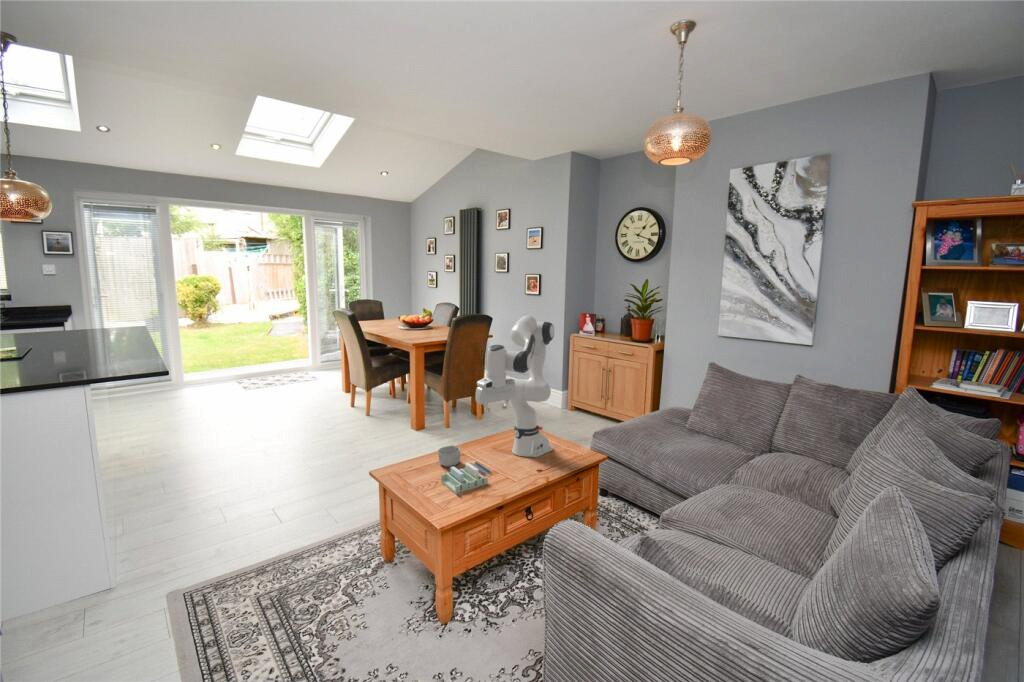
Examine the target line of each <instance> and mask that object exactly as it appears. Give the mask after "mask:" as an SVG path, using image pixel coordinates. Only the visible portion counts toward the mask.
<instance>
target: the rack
mask: <svg viewBox="0 0 1024 682" xmlns="http://www.w3.org/2000/svg"><path fill="white" fill-rule="evenodd" d="M449 468H450V469H449V471H450V472H445V473H443V474H441V475H440V483H441V484H443V485H444V486H445V487H446V488H448V489H449V490H450V491H451V492H452V493H454V494H455V495H459V494H460V493H462V492H464V491H465V492H466V491H468V490H472V489H475V488H478V487H482V486H485V485H488V484H489V477H488V476H485V477H484V476H483V475H481V474H479V479H478V480H476V479H475V478H474V477H472V476H471V475H469V474H468V473H467V472H465V467H464V468H459V469H458V468H457V467H456V466H452V467H449Z"/></svg>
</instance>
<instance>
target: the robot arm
mask: <svg viewBox="0 0 1024 682" xmlns="http://www.w3.org/2000/svg"><path fill="white" fill-rule="evenodd" d="M555 331H556V330H555V326H554V324H553V323H552V322H549V321H537V320H536V318H535V317H534V316H532V315H528V314H527V315H523V316H522V317H520V318H519V319H518V320H517V321H516V323H515V324H514V325H513V326H512V328H511V330H510V339H511V341H512V342H513V343H514V345H516V346H518V347H522V348H523V349H522V350H508V349H506V348H505V346H504V345H502V344H494V345H490V346H489V347H488V348H487V353H486V368H487V369H486V371H487V372H486V376H484V377H483V378H482V379H479V380H477V382H476V385H477V387H476V389H475V398H474V399H475V403H476V404H479V405H483V407H484V411H485V413H490V412H491V409H490V407H488V406H489V404H490V403H495V402H496V403H497V402H501V401H504V403H503V404H502V405H501V409H503V410H507V408H508V405H509V402H510V403H511V405H512V407H513V409H514V419H515V425H514V441H513V446H512V449H511V452H512V454H513V455H516V456H520V457H529V458H538V457H541V456H544V454H545V455H546V454H547V453H549V452H551V451H553V450H554V446H552V445H551V444H550V441H549V439H548V437H547V436H546V435H544V433H541V432H540V431H542V430H543V429H544V427H543V426H542V425H537V415H538V414H537V412H536V409H534V407H532V406H530V405H529V403H528V402H534V403H535V402H536V403H539V402H540V403H541V402H542V403H543V402H546V401H548V399H549V398H550V396H551V393H552V392H551V390H552V389H551V386H550V384H549V383H548V382H547V381H546V379H544V376H543V371H544V370H543V369H544V364H545V361H546V355H547V346H548V345H549V344H550V342H551V341H552V340H553V338H554V337H555ZM507 372H516V373H518V374H519V373H520V374H524V375H525V376H526V377H527V378H528V379H527V378H526V379H525V378H507Z"/></svg>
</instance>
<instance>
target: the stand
mask: <svg viewBox="0 0 1024 682" xmlns="http://www.w3.org/2000/svg"><path fill="white" fill-rule="evenodd" d="M469 463H470V464H471V465H473V466H474V467H476V468H477V469H479V475H481V476H486V475H489V474H492V470H491V469H489V468H488V467H487V466H485V465H483V464H481V463H480V462H478V460H477V461H475V462H474V463H472V462H469Z"/></svg>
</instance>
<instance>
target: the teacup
mask: <svg viewBox="0 0 1024 682" xmlns="http://www.w3.org/2000/svg"><path fill="white" fill-rule="evenodd" d="M437 454H438V461H439V464H440V465H441V466H443V467H446V468H450V467H456V465H458V463H460V460H461V448H460V447H459V446H456V445H453V444H450V445H447V446H446V445H445V446H442V447H440V448H439V449H437Z"/></svg>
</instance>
